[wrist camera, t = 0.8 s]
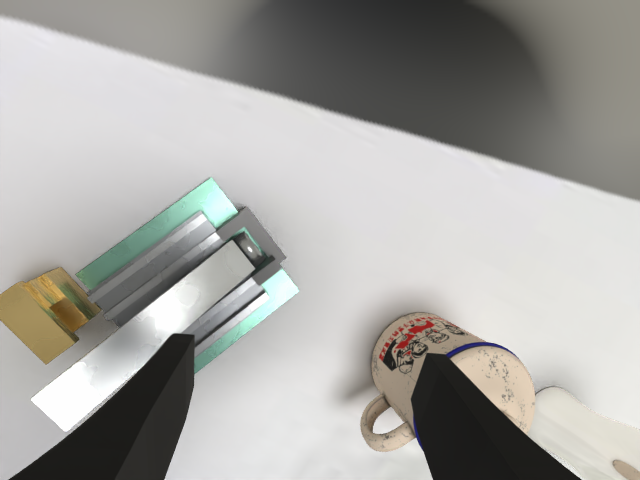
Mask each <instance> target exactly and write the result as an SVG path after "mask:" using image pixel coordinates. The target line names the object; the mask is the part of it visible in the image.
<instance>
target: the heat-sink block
mask: <svg viewBox="0 0 640 480" xmlns="http://www.w3.org/2000/svg"><path fill="white" fill-rule="evenodd" d="M237 213H238V211H237V210H236V208H235V207H234V206H233V205H232V203H231V202H230V201H229V199H228V198H227V197H226V196H225V194H224V193H223V192H222V190H221V189H220V188H219V186H218V185H217V184H216V183H215V181H214V180H213V179H212V177H211V178H210V179H208V180H207V181H205V182H204V183H203V184H201V185H200V186H198V187H197V188H196V189H194V190H193V191H191V192H190V193H189V194H187V195H186V196H184V197H183V198H182V199H180V200H179V201H177V202H176V203H175V204H173V205H172V206H170V207H169V208H168V209H166V210H165V211H164V212H162V213H161V214H159V215H158V216H157V217H155V218H154V219H152V220H151V221H150V222H148V223H147V224H145V225H144V226H143V227H141V228H140V229H138V230H137V231H136V232H134V233H133V234H131V235H130V236H129V237H127V238H126V239H124V240H123V241H122V242H120V243H119V244H117V245H116V246H115V247H113V248H112V249H110V250H109V251H108V252H106V253H105V254H103V255H102V256H101V257H99V258H98V259H96V260H95V261H94V262H92V263H91V264H89V265H88V266H87V267H85V268H84V269H82V270H81V271H80V272H78V273H77V274H75V275H76V276H77V277H78V278H79V279H80V280H81V281H82V282H83V283H84V284H85V285H86V286H87V287H88V289H89V290H90V291H89V292H88V294H89V297H87V299H88V300H89V301H90V302H91V303H92V304H93V303H94V302H96V303H97V304H98V305H99V306H100V307H101V308H102V309H103V310H104V312H105V314H104V315H103V316H104V317H105V318H106V319H107V320H108V321H109V320H111V319H112V320H113V321H114V322H115V323H116V324H117V325H118V327H119V328H120V327H121V326H122V325H124V324H125V323H126V322H128V321H129V320H130V319H131V318H133V317H134V316H135V315H136V314H138V313H139V312H140V311H141V310H143V309H144V308H145V307H146V306H148V305H149V304H150V303H152V302H153V301H154V300H155V299H157V298H158V297H159V296H160V295H162V294H163V293H164V292H165V291H167V290H168V289H169V288H170V287H172V286H173V285H174V284H176V283H177V282H178V281H179V280H181V279H182V278H183V277H184V276H186V275H187V274H188V273H189V272H191V271H192V270H193V269H194V268H196V267H197V266H198V265H200V264H201V263H202V262H203V261H205V260H206V259H207V258H208V257H210V256H211V255H212V254H213V253H215V252H216V251H217V250H218V249H220V248H221V247H222V246H224V245H225V244H226V243H227V242H229V241H230V240H232V239H233V238H234V237H236V236H237V235H238V234H240V233H241V232H243V231H245V232H246V234H247V235H248V236H249V238H250V239H251V240H252V241H253V243H254V244H255V245H256V247H257V248H258V249H259V250H260V252H261V253H262V254H263V256H264V255H265V252H264V251H263V250H262V248H261V247H260V246H259V245H258V243H257V242H256V241H255V239H254V238H253V237H252V236H251V234H250V233H249V232H248V230H247V229H246V228H245V227H243V228H242V229H240V230H239V231H238V232H236V233H235V234H234V235H232V236H231V237H230V238H228V239H227V240H226V241H224V242H223V241H222V240H221V238H220V237H219V236H218V235H217V234H216V229H217V228H218V227H219V226H221V225H222V224H223V223H225V222H226V221H227V220H229V219H230V218H231V217H233V216H234V215H235V214H237ZM297 292H299V290H298V288H297V287H296V286H295V285H294V283H293V282H292V281H291V279H290V278H289V277H288V276H287V274H286V273H285V272H284V270H283V269H281V270H280V271H279V272H277V273H276V274H275V275H273V276H272V277H271V278H270V279H268V280H267V281H266V282H264V283H263V284H262V285H261V286H258V285H257V283H256V282H255V281H254V280H253V278H252V277H251V274H249V275H247V276H246V277H245V278H244V279H243V280H242V281H240V282H239V283H238V284H237V285H236V286H235V287H234V288H232V289H231V290H230V291H229V292H228V293H227V294H225V295H224V296H223V297H222V298H221V299H220V300H218V301H217V302H216V303H215V304H214V305H213V306H212V307H210V308H209V309H208V310H207V311H206V312H205V313H203V314H202V315H201V316H200V317H199V318H198V319H196V320H195V321H194V322H193V323H192V324H191V325H190V326H188V327H187V328H186V329H185V330H184V331H183V332H181V333H180V334H192V335H195V352H194V374H195V373H197V372H198V371H199V370H200V369H202V368H203V367H204V366H205V365H207V364H208V363H209V362H211V361H212V360H213V359H214V358H216V357H217V356H218V355H219V354H221V353H222V352H223V351H224V350H226V349H227V348H228V347H229V346H231V345H232V344H233V343H234V342H236V341H237V340H238V339H239V338H241V337H242V336H243V335H244V334H246V333H247V332H248V331H250V330H251V329H252V328H253V327H255V326H256V325H257V324H258V323H260V322H261V321H262V320H263V319H265V318H266V317H267V316H268V315H270V314H271V313H272V312H273V311H275V310H276V309H277V308H278V307H280V306H281V305H282V304H283V303H285V302H286V301H287V300H289V299H290V298H291V297H292V296H294V295H295V294H296V293H297Z"/></svg>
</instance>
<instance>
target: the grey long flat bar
mask: <svg viewBox="0 0 640 480" xmlns="http://www.w3.org/2000/svg"><path fill="white" fill-rule="evenodd" d="M265 259H266V258H265V257H264V256H263V254H262V253H261V252H260V250H259V249H258V248H257V247H256V245H255V244H254V243H253V241H252V240H251V239H250V238H249V236H248V235H247V234H246V232H245V231H243V232H241V233H240V234H238V235H237V236H236V237H234V238H233V239H232V240H230V241H229V242H227V243H226V244H225V245H224V246H222V247H221V248H220V249H218V250H217V251H216V252H215V253H213V254H212V255H211V256H210V257H208V258H207V259H206V260H205V261H203V262H202V263H201V264H200V265H198V266H197V267H196V268H194V269H193V270H192V271H191V272H189V273H188V274H187V275H186V276H184V277H183V278H182V279H181V280H179V281H178V282H177V283H176V284H174V285H173V286H172V287H170V288H169V289H168V290H167V291H165V292H164V293H163V294H162V295H160V296H159V297H158V298H157V299H155V300H154V301H153V302H152V303H150V304H149V305H148V306H146V307H145V308H144V309H143V310H141V311H140V312H139V313H138V314H136V315H135V316H134V317H133V318H131V319H130V320H129V321H128V322H126V323H125V324H124V325H122V326H121V327H120V328H119V329H117V330H116V331H115V332H114V333H112V334H111V335H110V336H109V337H107V338H106V339H105V340H104V341H102V342H101V343H100V344H98V345H97V346H96V347H95V348H93V349H92V350H91V351H90V352H88V353H87V354H86V355H85V356H83V357H82V358H81V359H80V360H78V361H77V362H76V363H74V364H73V365H72V366H71V367H69V368H68V369H67V370H66V371H64V372H63V373H62V374H61V375H59V376H58V377H57V378H56V379H54V380H53V381H52V382H50V383H49V384H48V385H47V386H45V387H44V388H43V389H42V390H40V391H39V392H38V393H37V394H35V395H34V396H33V397H32V398H31V400H32V401H33V402H34V403H35V404H36V405H37V406H38V407H39V408H40V409H41V410H43V411H44V412H45V413H46V414H47V415H48V416H49V417H50V418H51V419H52V420H53V421H54V422H55V423H56V424H57V425H58V426H60V427H61V428H62V429H63V430H64V431H65V432H67V431H68V430H69V429H70V428H72V427H73V426H74V425H75V424H76V423H77V422H78V421H80V420H81V419H82V418H83V417H84V416H85V415H87V414H88V413H89V412H90V411H91V410H92V409H93V408H95V407H96V406H97V405H98V404H99V403H100V402H102V401H103V400H104V399H105V398H106V397H107V396H109V395H110V394H111V393H112V392H113V391H114V390H115V389H117V388H118V387H119V386H120V385H121V384H122V383H124V382H125V381H126V380H127V379H128V378H129V377H131V376H132V375H133V374H134V373H135V372H136V371H137V370H139V369H140V368H141V367H142V366H143V365H144V364H146V362H147V361H148V360H149V359H150V358H151V357H152V356H153V355H154V354H155V353H156V351H157V350H158V349H159V348H160V347H161V346H162V344H163V343H164V342H165V341H166V340H167V339H168V337H169V336H170V335H172V334H173V333H179V334H180V333H181V332H183V331H184V330H185V329H186V328H187V327H188V326H190V325H191V324H192V323H193V322H194V321H195V320H196V319H198V318H199V317H200V316H201V315H202V314H203V313H205V312H206V311H207V310H208V309H209V308H210V307H212V306H213V305H214V304H215V303H216V302H217V301H218V300H220V299H221V298H222V297H223V296H224V295H225V294H227V293H228V292H229V291H230V290H231V289H232V288H234V287H235V286H236V285H237V284H238V283H239V282H240V281H242V280H243V279H244V278H245V277H246V276H247V275H249V274H250V273H251V272H252V271H253V270H254V269H255V268H254V267H257V266H258V265H260V264H261V263H262V262H263V261H264V260H265Z"/></svg>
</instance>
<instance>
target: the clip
mask: <svg viewBox="0 0 640 480" xmlns="http://www.w3.org/2000/svg"><path fill="white" fill-rule="evenodd" d="M87 297H89V296H88V295H87V294H86V293H85V292H84V291H83V290H82V289H81V288H80V287H79V286H78V284H77V283H76V282H75V281H74V280H73V279H72V278H71V277H70V276H69V275H68V274H67V273H66V272H65V271H64V270H63V268H62V267H60V268H57V269H55V270H52V271H50V272H47V273H44V274H43V275H42V276H40V277H38V278H35V279H33V280H30V281H28V282H27V283H24V282H23V281H21V282H18V283H16V284H15V285H13V286H12V287H10V288H9V289H8V290H6V291H5V292H3V293H2V294H0V320H1V321H2V322H3V323H4V324H5V325H6V326H7V327H8V328H9V329H10V330H11V331H12V332H13V333H14V334H15V335H16V336H17V337H18V338H19V339H20V340H21V341H22V342H23V343H24V344H25V345H26V346H27V347H28V348H29V349H30V350H31V351H32V352H33V353H35V354H36V355H37V356H38V357H39V358H40V359H41V360H42V361H43V362H44V363H45V364H48V363H49V362H50V361H52V360H53V359H54V358H56V357H57V356H58V355H60V354H61V353H63V352H64V351H65V350H67V349H68V348H69V347H71V346H72V345H73V344H75V343H76V342H77V341H78V340H79V338H78V337H77V336H76V335H75V334H74V333H73V332H74V331H76V330H77V329H78V328H80V327H81V326H82V325H84V324H85V323H87V322H88V321H89V320H90V319H91V318H93V317H94V316H95V315H96V314H97V313H98V312H99V311H101V309H100V308H99V307H98V306H97V305H96V304H95V303H93V304H92V303H91V302H90V301H89V300H88V299H87Z"/></svg>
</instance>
